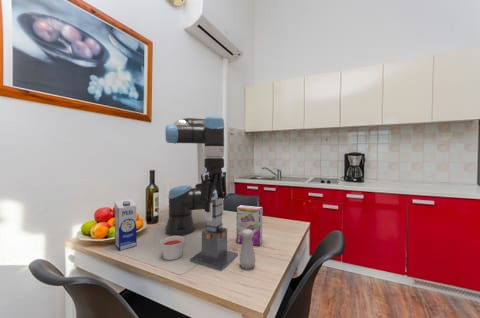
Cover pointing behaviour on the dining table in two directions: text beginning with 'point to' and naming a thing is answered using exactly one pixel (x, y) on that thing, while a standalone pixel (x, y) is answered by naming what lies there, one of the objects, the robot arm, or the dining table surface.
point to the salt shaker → (247, 250)
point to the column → (215, 216)
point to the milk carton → (125, 224)
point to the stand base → (214, 250)
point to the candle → (172, 247)
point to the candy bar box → (249, 223)
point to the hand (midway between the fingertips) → (214, 217)
